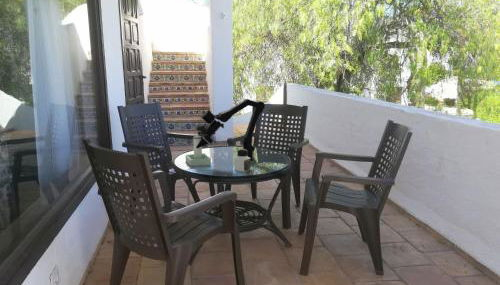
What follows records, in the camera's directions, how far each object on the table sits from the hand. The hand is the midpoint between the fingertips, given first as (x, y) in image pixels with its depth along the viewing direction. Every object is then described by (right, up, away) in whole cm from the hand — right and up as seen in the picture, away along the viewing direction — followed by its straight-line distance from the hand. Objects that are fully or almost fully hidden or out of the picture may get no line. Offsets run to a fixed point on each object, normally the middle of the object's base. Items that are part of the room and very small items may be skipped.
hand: (195, 147), depth 243 cm
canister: (+1, -6, +2) cm, 7 cm away
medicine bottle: (+29, -14, -11) cm, 34 cm away
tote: (+1, -10, +3) cm, 11 cm away
